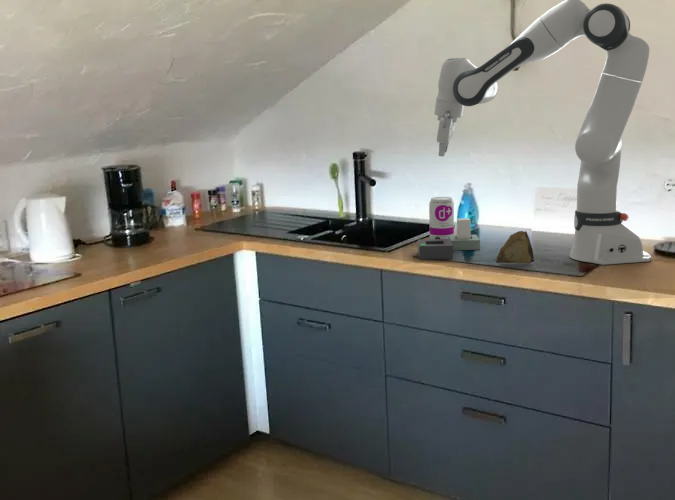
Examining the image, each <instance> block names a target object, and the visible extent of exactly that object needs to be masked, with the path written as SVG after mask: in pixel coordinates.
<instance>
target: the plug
mask: <svg viewBox="0 0 675 500" xmlns="http://www.w3.org/2000/svg"><path fill="white" fill-rule="evenodd" d="M471 222H472V221H471V219H470V217H469V218H468V217H467V218H463V217H461V218H457V219H456V235H457V239H471V235H472V232H471V228H472V227H471V224H472V223H471Z"/></svg>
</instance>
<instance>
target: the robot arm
mask: <svg viewBox="0 0 675 500" xmlns="http://www.w3.org/2000/svg"><path fill="white" fill-rule="evenodd" d="M630 30H631V21H630V18H629V16H628V15H627V13H626V12H625V10H624V9H623V8H621V6H617V5H616V4H612V3H600V4H598V5H595V6H594V7H592V8H589V7H588V6H587V4H586V3H585V2H583V1H582V0H563V1H562V2H559V3H558V4H556V5H555V6H553V7H551V8H550V9H549V10H547V11H545V12H544V13H543V14H542V15H541V16H539V17H538V18H536V20H534V21H533V22H532V23H531V24H530V25H529V26H528V27H527V28H526V29H525V30H524V31H522V32H521V33H520V34H519V35H518V36H517V37H516V38H515V39H514V40H513V41H512V42H511V43H510V44H509V45H507V46H506V47H505V48H504V49H502V50H501V51H499V52H498V53H496V55H493V57H492V58H490V59H489V60H487V61H486V62H484V64H482V65H481V66H478V67H477V66H476V65H474V64H473V63H472V62H471V61H470V60H469V59H468V58H465V57H452V58H448V59H445V61H443V63H442V65H441V70H440V72H439V73H440V74H439V79H438V87H437V88H438V93H437V96H436V99H435V100H436V101H435V104H434V105H435V106H434V107H435V108H434V113H433V114H434V115H435V116H437V121H438V129H437V135H436V142H437V143H439V144H438V156H439V157H444V156H445V154H446V153H447V152H448V147H449V144H450V141H451V139H452V138H453V136H454V133H455V130H456V125H457V123H458V120H459V119H460V118H461V119H462V118H463V116H464V114H463V113H464V109H465V108H464V107H474V106H476V105H481V104H486V103H489V102H490V101H492V100H493V99H494V98H495V97H496V96H497V94H498V92H499V91H498V90H499V84H498V81H499V80H501V79H502V78H504V77H505V76H507V75H508V74H509V73H511V72H512V71H513V70H515V69H517V68H518V67H519V68H520V67H521V66H524V65H527V64H530V63H534V62H538V61H543V60H545V59H547V58H548V57H551V56H552V55H554V54H556V53H557V52H559V51H560V50H562V49H563V48H565V46H567V45H568V44H569V43H571V42H572V41H573V40H576V39H577V38H579V37H586V38H587V40H588V41H590V42H591V43H592V44H594V45H596V46H598V47H599V48H601V49H603V50H604V51H606V59H605V64H604V66H603V69H602V71H601V74H600V77H599V81H598V82H597V83H598V84H597V86H596V90H595V93H594V96H593V99H592V101H591V103H590V106H589V108H588V110H587V113H586V116H585V117H584V120H583V123H582V124H581V127H580V129H579V131H578V135H577V138H576V140H575V145H574V150H575V154H576V157H577V158H578V159H579V160H580V167H579V173H578V179H577V188H576V190H577V191H576V193H577V194H576V209H575V210H574V219H573V220H574V222H573V225H574V226H573V227H574V236H573V242H572V246H571V249H570V253H569V258H571V259H572V260H576V261H580V262H586V263H592V264H597V265H602V266H604V265H605V266H606V265H616V264H630V263H631V264H632V263H643V262H644V263H645V262H650V261H651V260H652V258H651V257H652V255H650V254H649V253H648V252H647V251H644V249H643V241H642V238H641V237H640V236H639V235H638V234H637V233H636V232H634V231H633V230H632V229H630V228H629V227H628V226H627V225H625V224H624V223H623V222H625V221H626V222H627V221H628V220H629V215H628V214H627V213H624V212H621V211H619V210H617V204H618V203H617V202H618V186H619V185H618V184H619V183H618V182H619V177H620V176H619V175H620V167H621V158H622V148H623V147H622V144H623V140H622V139H623V138H622V135H623V133H624V131H625V128H626V125H627V123H628V120H629V119H630V117H631V114H632V113H633V112H632V111H633V110H634V106H635V103H636V100H637V98H638V96H639V93H640V89H641V86H642V83H643V81H644V79H645V75H646V70H647V66H648V63H649V58H650V46H649V44H648V43H647V42H646V41H645V40H644V39H642V38H641V37H638V36H634V35H632V34H631V33H630Z"/></svg>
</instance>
